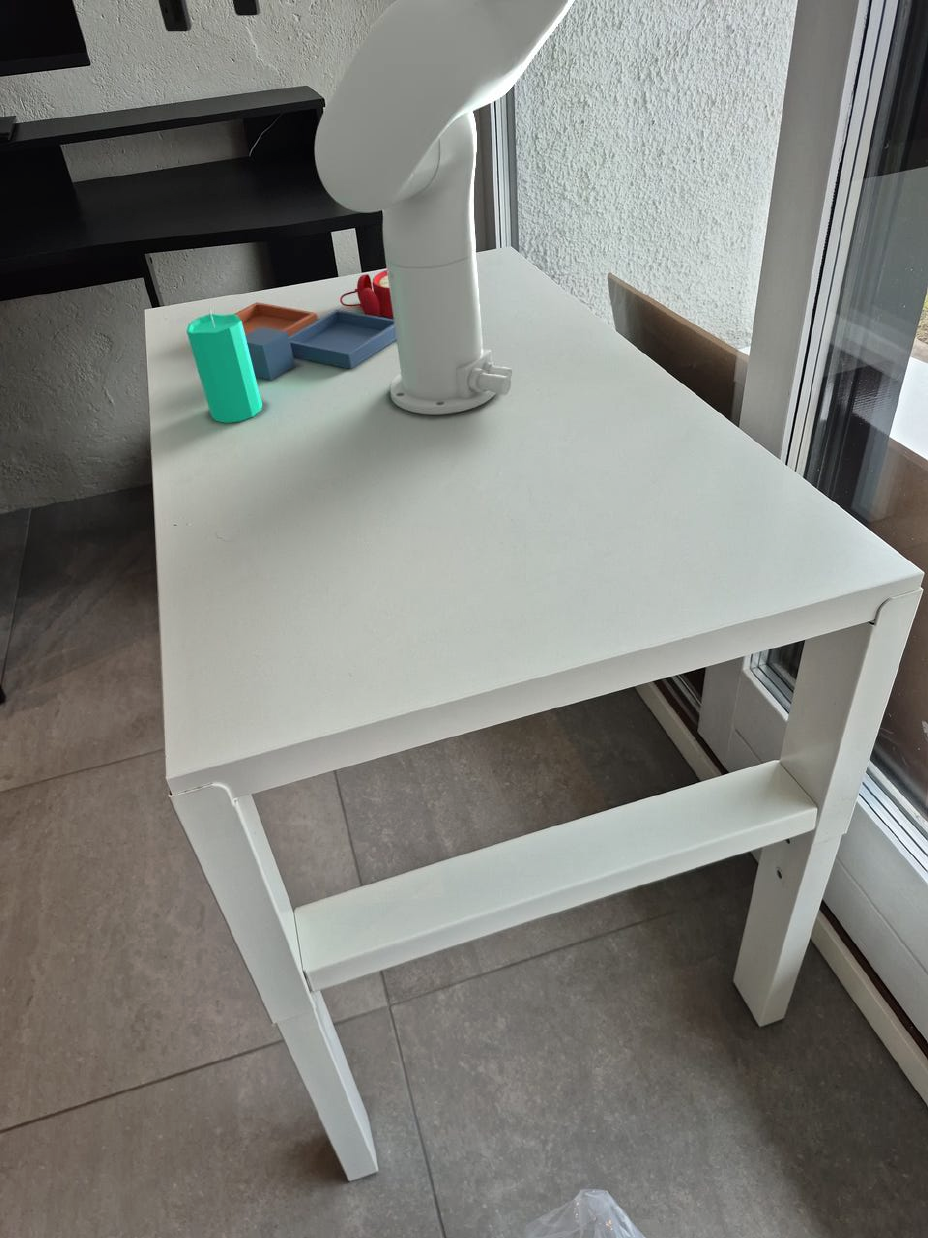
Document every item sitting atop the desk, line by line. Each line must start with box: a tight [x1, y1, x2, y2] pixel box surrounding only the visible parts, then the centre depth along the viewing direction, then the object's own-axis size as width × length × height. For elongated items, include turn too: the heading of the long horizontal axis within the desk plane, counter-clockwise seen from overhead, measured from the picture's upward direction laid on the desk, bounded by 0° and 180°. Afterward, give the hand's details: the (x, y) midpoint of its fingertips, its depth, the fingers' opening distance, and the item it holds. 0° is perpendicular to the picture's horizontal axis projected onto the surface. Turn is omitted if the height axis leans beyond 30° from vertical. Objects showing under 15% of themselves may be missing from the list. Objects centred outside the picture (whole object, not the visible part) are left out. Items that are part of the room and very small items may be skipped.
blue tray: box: [289, 309, 397, 370], centre depth 117 cm, size 11×11×2 cm
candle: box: [186, 308, 263, 424], centre depth 101 cm, size 6×6×12 cm
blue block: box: [245, 327, 296, 382], centre depth 112 cm, size 4×4×4 cm
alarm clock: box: [339, 269, 394, 319], centre depth 124 cm, size 10×6×15 cm
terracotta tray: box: [234, 302, 319, 337], centre depth 122 cm, size 11×11×2 cm
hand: (214, 22), depth 92 cm, fingers open, 9 cm apart
